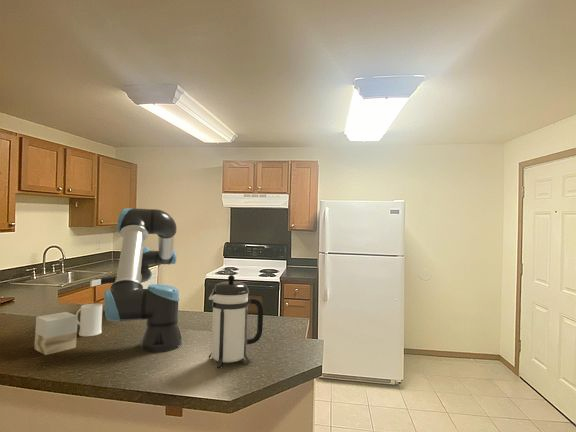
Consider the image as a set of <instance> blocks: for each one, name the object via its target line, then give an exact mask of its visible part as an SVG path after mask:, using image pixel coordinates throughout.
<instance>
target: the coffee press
mask: <svg viewBox="0 0 576 432" xmlns="http://www.w3.org/2000/svg"><path fill="white" fill-rule="evenodd" d="M227 279H228V281H220V282H218V283H217V284H215V286H214V288H213V289H212V292H211V293H210V294H209V297H208V300H210V301H211V300H212V322H211V323H212V327H211V329H212V331H211V352H210V354H209V355H208V359H209V358H210V357H212V358H213V359H212V360H214V361H217V365H216V368H217V369H219V368H221V367H222V368H223V367H224V365H225V363H234V362H235V363H236V362H239V361H241V362H242V363H243V364H244V365H248V364H249V362H250V360H249V358H248V356H247V347H248V345H253V344H255V343H257V342H258V341H259V340H260V339H261V337H262V336H263V335H262V334H263V329H264V328H263V325H264V324H263V323H264V322H263V321H264V319H263V318H264V309H263V305H262V303H261V302H260V301H259V300H258V299H256V298H250V299H249V293H250V289H249V288H248V285H247V284H245V283H244V282H241V281H235V276H234V275H233V274H230V275H229V276H228V277H227ZM249 304H250V305H255V306H256V308H257V319H256V320H257V321H256V322H257V326H256V328H257V329H256V334H255V336H254V337H252V338H247V337H248V335H247V333H248V332H247V331H248V308H249V307H248V306H249ZM245 363H246V364H245Z"/></svg>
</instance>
